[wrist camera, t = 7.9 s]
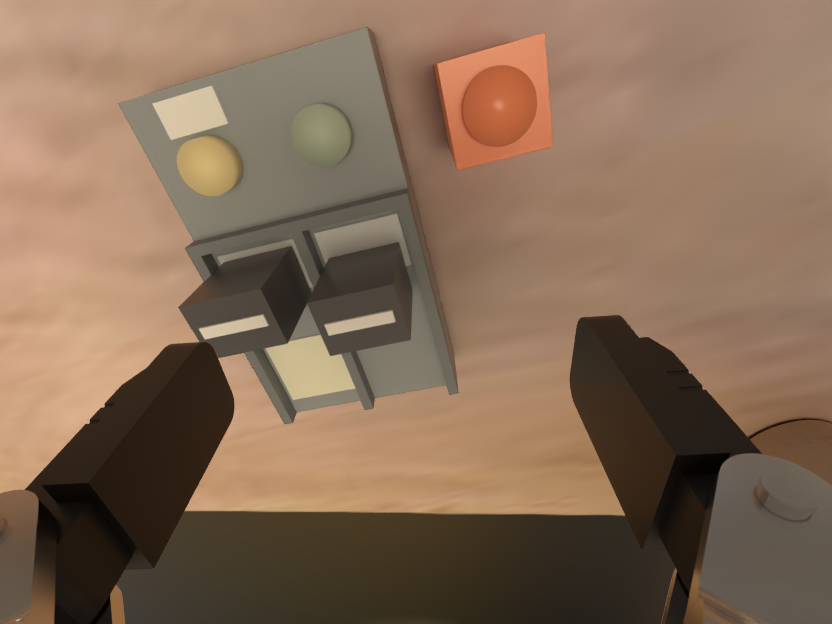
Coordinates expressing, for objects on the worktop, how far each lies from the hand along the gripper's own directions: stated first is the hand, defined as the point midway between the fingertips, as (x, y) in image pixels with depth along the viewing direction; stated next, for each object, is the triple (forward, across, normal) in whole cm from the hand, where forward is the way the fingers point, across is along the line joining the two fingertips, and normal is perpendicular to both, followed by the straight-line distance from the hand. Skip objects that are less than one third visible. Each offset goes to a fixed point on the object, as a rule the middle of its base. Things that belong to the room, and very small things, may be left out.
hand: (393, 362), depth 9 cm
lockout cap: (+17, -4, -4) cm, 18 cm away
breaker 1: (+14, +8, +4) cm, 16 cm away
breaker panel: (+17, +5, +4) cm, 18 cm away
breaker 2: (+14, +2, +4) cm, 14 cm away
